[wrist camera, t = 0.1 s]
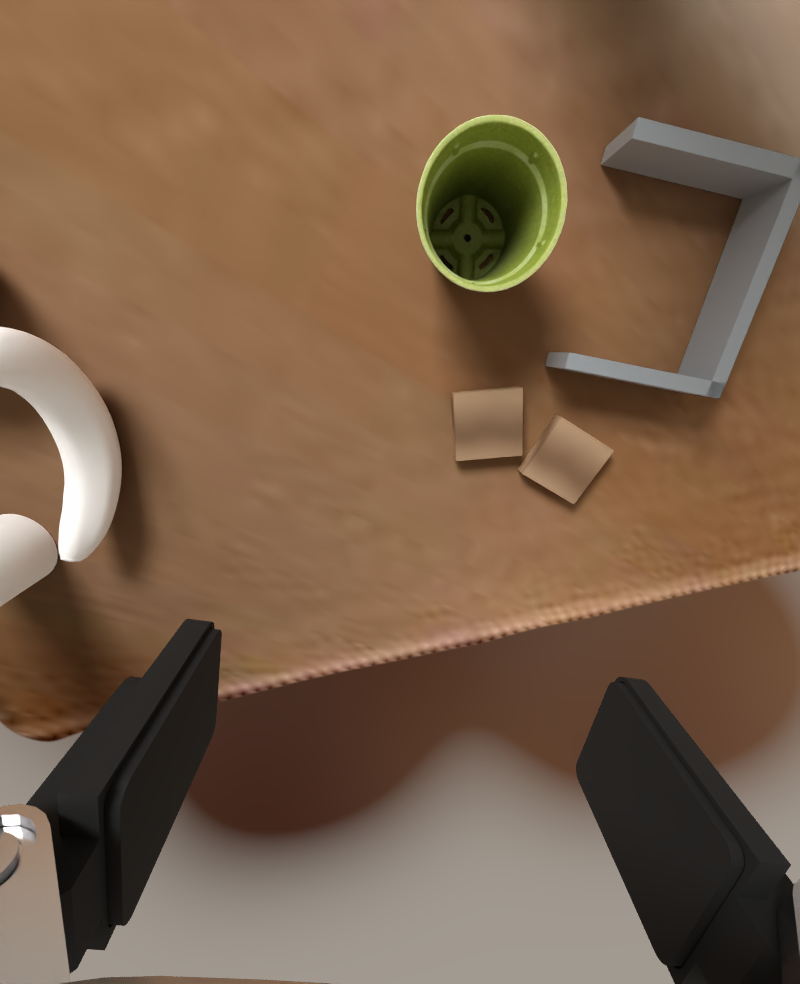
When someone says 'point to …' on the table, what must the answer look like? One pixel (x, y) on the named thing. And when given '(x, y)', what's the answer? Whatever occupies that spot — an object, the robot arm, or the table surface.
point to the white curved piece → (69, 436)
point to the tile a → (487, 423)
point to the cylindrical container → (23, 555)
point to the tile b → (565, 459)
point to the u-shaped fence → (746, 256)
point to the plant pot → (492, 202)
